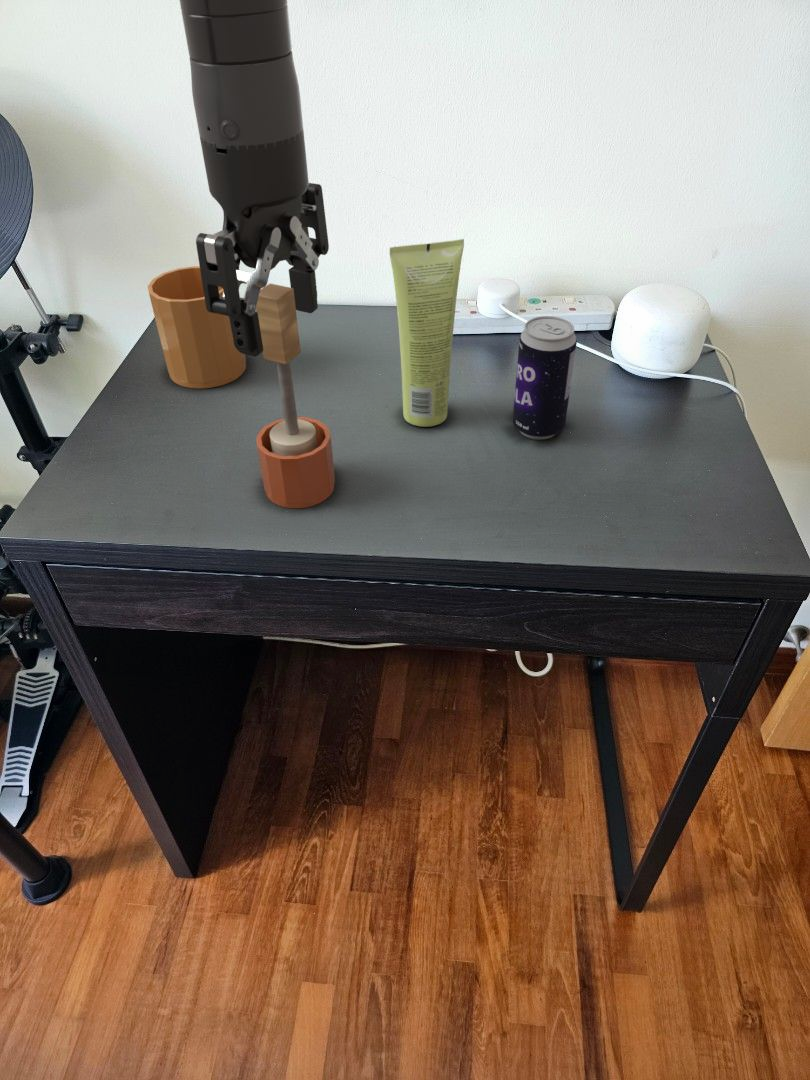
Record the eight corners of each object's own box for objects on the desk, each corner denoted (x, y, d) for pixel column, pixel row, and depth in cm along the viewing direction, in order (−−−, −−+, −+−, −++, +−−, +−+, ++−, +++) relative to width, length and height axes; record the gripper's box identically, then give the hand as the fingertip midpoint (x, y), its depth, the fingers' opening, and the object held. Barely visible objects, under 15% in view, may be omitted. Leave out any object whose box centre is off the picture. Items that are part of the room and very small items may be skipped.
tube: (420, 397, 91) (420, 227, 78) (458, 409, 89) (464, 237, 76) (394, 421, 88) (388, 247, 75) (433, 434, 86) (434, 257, 73)
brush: (306, 500, 77) (281, 306, 63) (268, 488, 78) (236, 296, 65) (329, 475, 80) (310, 285, 66) (292, 464, 81) (266, 276, 68)
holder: (311, 516, 76) (305, 466, 72) (250, 496, 78) (241, 446, 74) (348, 476, 80) (344, 427, 76) (289, 458, 83) (282, 410, 79)
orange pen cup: (215, 395, 93) (197, 307, 85) (152, 378, 96) (130, 291, 88) (261, 359, 99) (248, 274, 91) (201, 344, 102) (183, 260, 95)
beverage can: (528, 408, 89) (537, 309, 81) (573, 424, 87) (588, 323, 79) (502, 432, 86) (510, 330, 78) (548, 449, 83) (561, 346, 75)
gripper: (263, 97, 63) (288, 290, 74) (145, 146, 54) (192, 359, 65) (344, 106, 61) (357, 305, 71) (234, 160, 51) (268, 379, 62)
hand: (279, 331), depth 68 cm, fingers open, 8 cm apart
